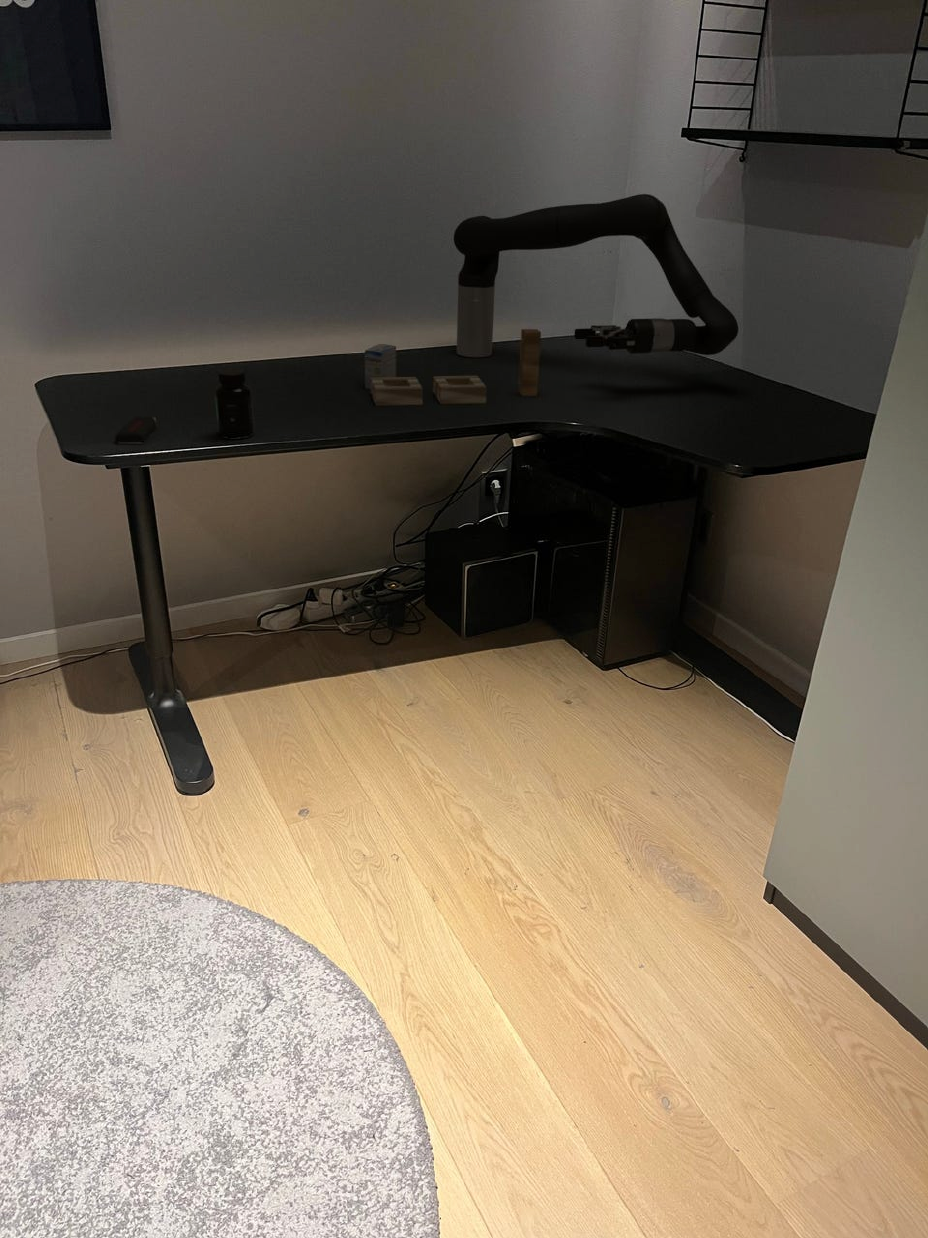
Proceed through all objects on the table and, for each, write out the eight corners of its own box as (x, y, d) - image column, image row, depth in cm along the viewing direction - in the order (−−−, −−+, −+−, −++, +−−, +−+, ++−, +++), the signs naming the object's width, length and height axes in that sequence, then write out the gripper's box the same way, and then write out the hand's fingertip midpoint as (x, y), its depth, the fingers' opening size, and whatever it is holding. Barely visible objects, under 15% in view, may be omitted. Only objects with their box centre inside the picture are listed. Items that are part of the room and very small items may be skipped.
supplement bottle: (213, 438, 185) (207, 375, 179) (225, 428, 191) (220, 366, 185) (247, 441, 184) (242, 377, 179) (259, 430, 190) (255, 368, 185)
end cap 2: (433, 391, 219) (433, 376, 218) (476, 390, 221) (477, 375, 219) (440, 404, 211) (441, 388, 209) (486, 402, 212) (486, 386, 211)
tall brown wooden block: (518, 392, 221) (521, 329, 215) (532, 391, 222) (536, 328, 215) (521, 396, 218) (525, 332, 212) (536, 395, 219) (541, 332, 212)
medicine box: (379, 380, 227) (378, 343, 223) (396, 383, 226) (396, 345, 221) (364, 388, 220) (364, 350, 216) (382, 391, 219) (382, 352, 215)
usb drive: (116, 446, 181) (113, 431, 179) (135, 427, 191) (133, 413, 190) (144, 446, 181) (142, 432, 179) (161, 427, 191) (160, 413, 190)
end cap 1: (371, 393, 217) (370, 377, 215) (415, 392, 218) (415, 376, 217) (376, 405, 208) (376, 389, 206) (422, 404, 210) (422, 388, 208)
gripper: (640, 312, 224) (572, 314, 221) (663, 324, 211) (591, 326, 208) (636, 346, 227) (570, 348, 224) (659, 359, 215) (589, 362, 212)
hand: (580, 337), depth 216 cm, fingers open, 8 cm apart
